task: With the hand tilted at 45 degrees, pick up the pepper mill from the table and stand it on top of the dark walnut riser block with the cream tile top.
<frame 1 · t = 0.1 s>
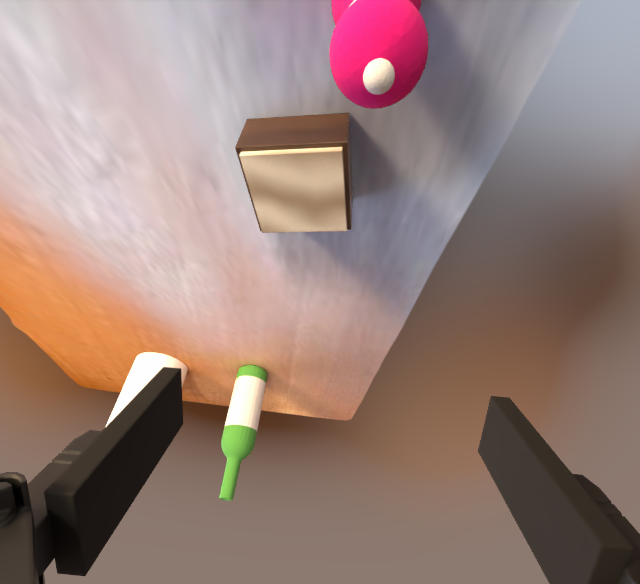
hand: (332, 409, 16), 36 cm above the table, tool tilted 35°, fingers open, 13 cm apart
wine bottle: (253, 369, 96), on the table
canister: (162, 364, 98), on the table
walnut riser: (304, 162, 47), on the table
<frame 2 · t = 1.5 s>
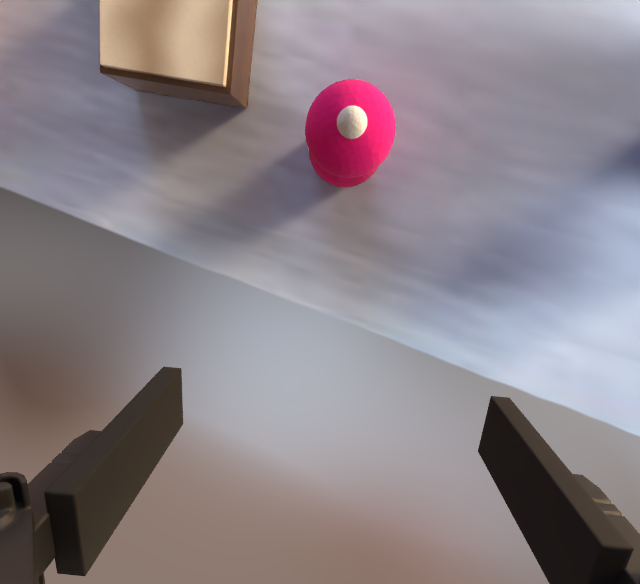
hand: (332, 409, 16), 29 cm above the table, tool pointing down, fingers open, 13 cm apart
pepper mill: (344, 152, 40), on the table
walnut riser: (195, 35, 37), on the table
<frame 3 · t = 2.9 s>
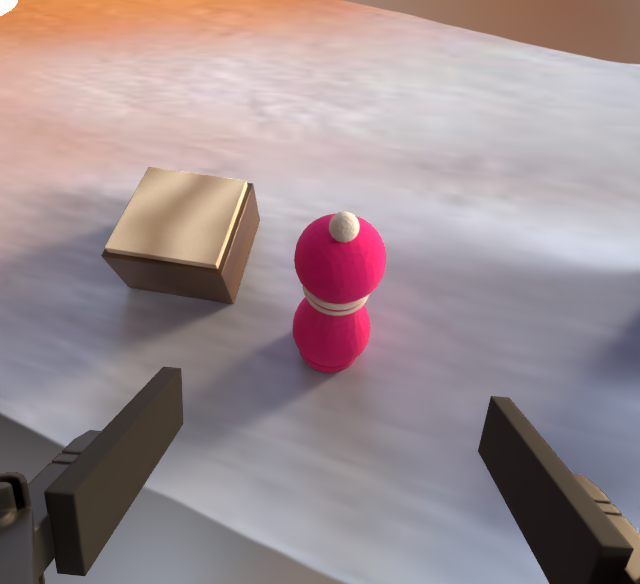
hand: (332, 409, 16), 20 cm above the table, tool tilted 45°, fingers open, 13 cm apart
pepper mill: (329, 344, 38), on the table
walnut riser: (198, 251, 43), on the table
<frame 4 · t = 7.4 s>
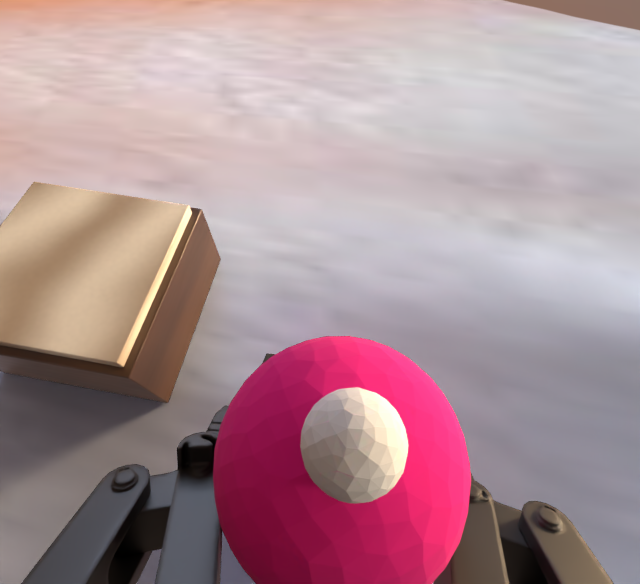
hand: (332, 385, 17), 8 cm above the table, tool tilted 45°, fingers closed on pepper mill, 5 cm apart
pepper mill: (321, 478, 23), on the table, touching gripper
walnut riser: (122, 310, 28), on the table
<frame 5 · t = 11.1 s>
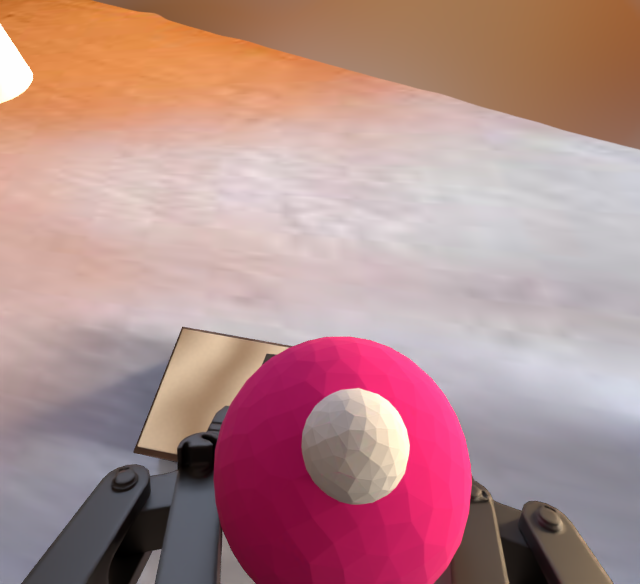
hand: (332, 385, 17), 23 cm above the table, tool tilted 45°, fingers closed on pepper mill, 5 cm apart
pepper mill: (321, 479, 23), point 15 cm above the table, touching gripper
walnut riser: (233, 409, 39), on the table
when the fingers open (15 cm above the table, at t = 15.3 s): pepper mill stays where it is, resting on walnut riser.
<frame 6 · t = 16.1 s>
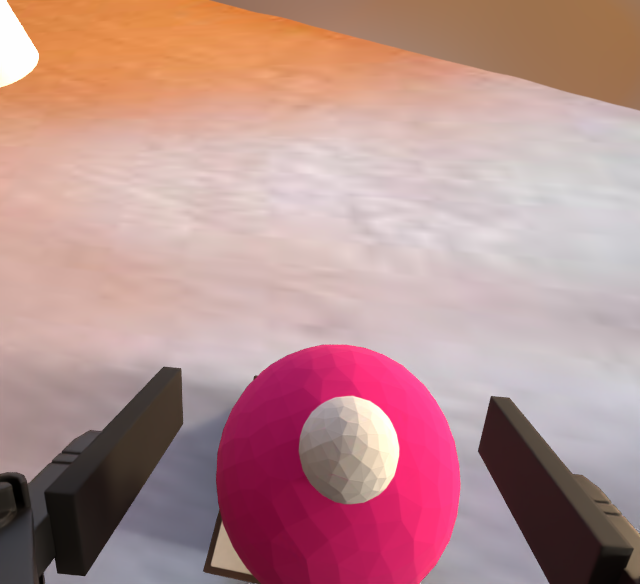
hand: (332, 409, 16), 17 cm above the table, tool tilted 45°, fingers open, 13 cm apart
pepper mill: (319, 480, 23), point 7 cm above the table, touching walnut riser
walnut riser: (317, 481, 29), on the table
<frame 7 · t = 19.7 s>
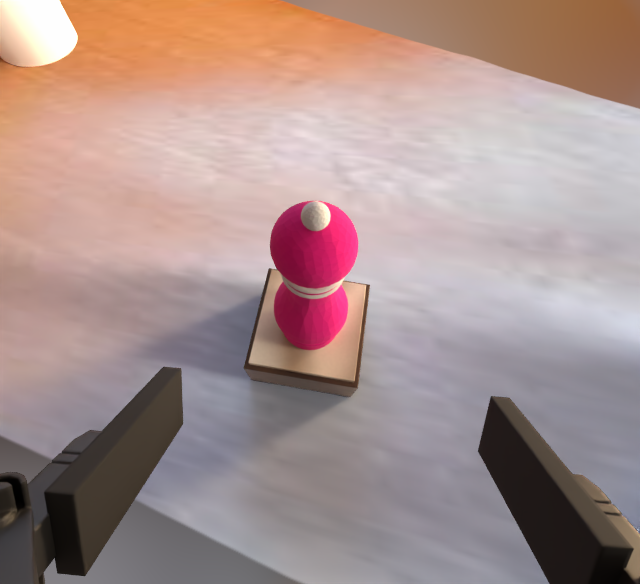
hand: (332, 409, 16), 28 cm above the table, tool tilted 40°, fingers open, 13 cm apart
pepper mill: (310, 322, 40), point 7 cm above the table, touching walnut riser
canister: (38, 43, 67), on the table
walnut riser: (309, 340, 46), on the table
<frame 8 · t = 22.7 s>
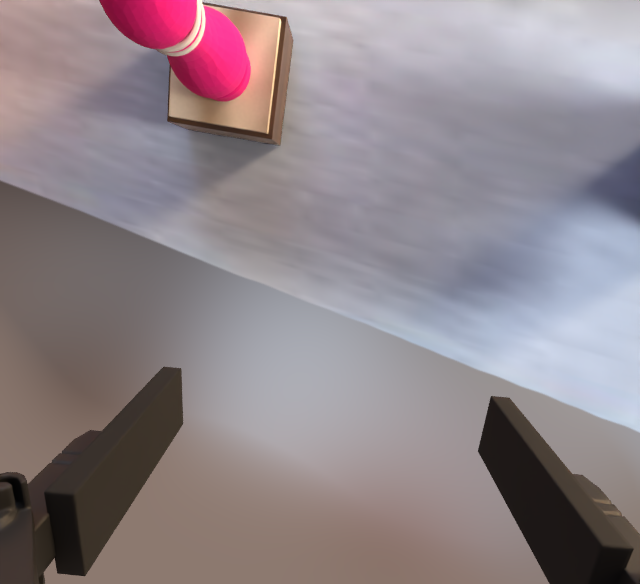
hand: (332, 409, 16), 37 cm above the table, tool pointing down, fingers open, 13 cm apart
pepper mill: (222, 70, 39), point 7 cm above the table, touching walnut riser
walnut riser: (239, 86, 45), on the table
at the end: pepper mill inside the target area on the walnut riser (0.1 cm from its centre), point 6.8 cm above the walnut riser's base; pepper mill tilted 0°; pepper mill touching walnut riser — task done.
